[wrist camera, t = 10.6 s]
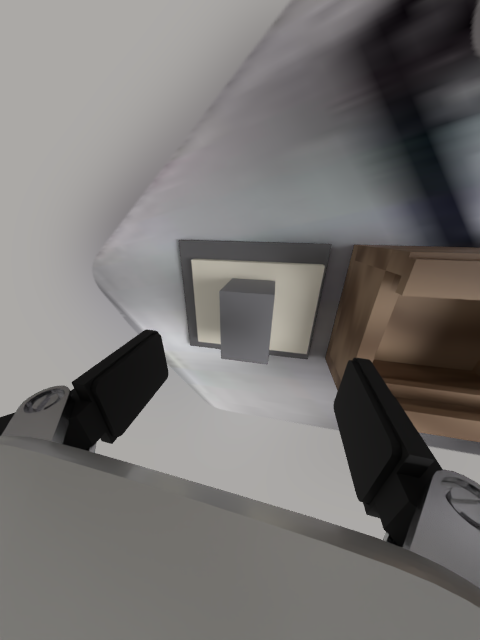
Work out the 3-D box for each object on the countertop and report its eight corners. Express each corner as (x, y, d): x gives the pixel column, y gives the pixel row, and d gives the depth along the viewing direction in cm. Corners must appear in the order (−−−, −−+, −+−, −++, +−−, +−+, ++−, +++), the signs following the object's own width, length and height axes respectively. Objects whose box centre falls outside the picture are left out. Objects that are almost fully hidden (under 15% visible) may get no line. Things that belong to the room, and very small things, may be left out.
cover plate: (195, 258, 18) (165, 267, 14) (322, 264, 17) (341, 276, 12) (201, 337, 22) (179, 366, 17) (305, 349, 20) (314, 385, 16)
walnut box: (354, 244, 16) (418, 252, 9) (555, 249, 14) (865, 266, 7) (325, 358, 21) (350, 424, 14) (470, 375, 19) (591, 463, 12)
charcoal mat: (181, 240, 19) (178, 240, 18) (329, 243, 16) (331, 244, 16) (192, 342, 24) (190, 345, 23) (306, 356, 21) (307, 359, 21)
